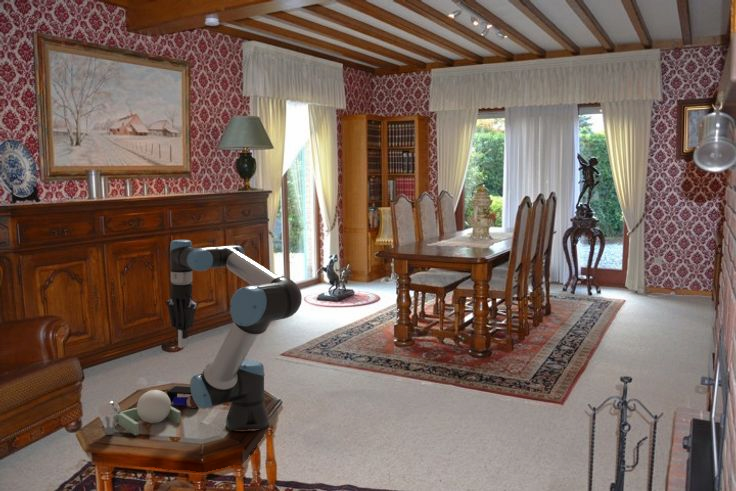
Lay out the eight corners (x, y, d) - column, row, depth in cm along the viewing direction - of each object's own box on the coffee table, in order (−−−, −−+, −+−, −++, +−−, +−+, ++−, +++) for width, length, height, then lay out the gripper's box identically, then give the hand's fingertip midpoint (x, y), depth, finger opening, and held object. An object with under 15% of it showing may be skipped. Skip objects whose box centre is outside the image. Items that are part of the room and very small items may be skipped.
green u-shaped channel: (181, 422, 223) (180, 411, 222) (135, 435, 211) (135, 424, 210) (161, 411, 233) (161, 401, 232) (117, 423, 220) (117, 412, 220)
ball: (183, 401, 226) (162, 397, 232) (162, 386, 218) (141, 382, 224) (166, 431, 220) (145, 425, 226) (145, 416, 212) (124, 411, 218)
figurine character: (159, 411, 237) (195, 410, 233) (157, 391, 236) (193, 391, 233) (169, 404, 244) (204, 404, 240) (167, 385, 243) (202, 385, 239)
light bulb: (112, 440, 207) (111, 405, 205) (94, 438, 208) (93, 403, 207) (124, 432, 213) (124, 398, 212) (106, 430, 215) (105, 396, 213)
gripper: (160, 282, 222) (161, 346, 224) (188, 286, 216) (189, 351, 219) (174, 279, 229) (175, 342, 231) (202, 282, 223) (203, 346, 226)
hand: (182, 346), depth 225 cm, fingers closed
